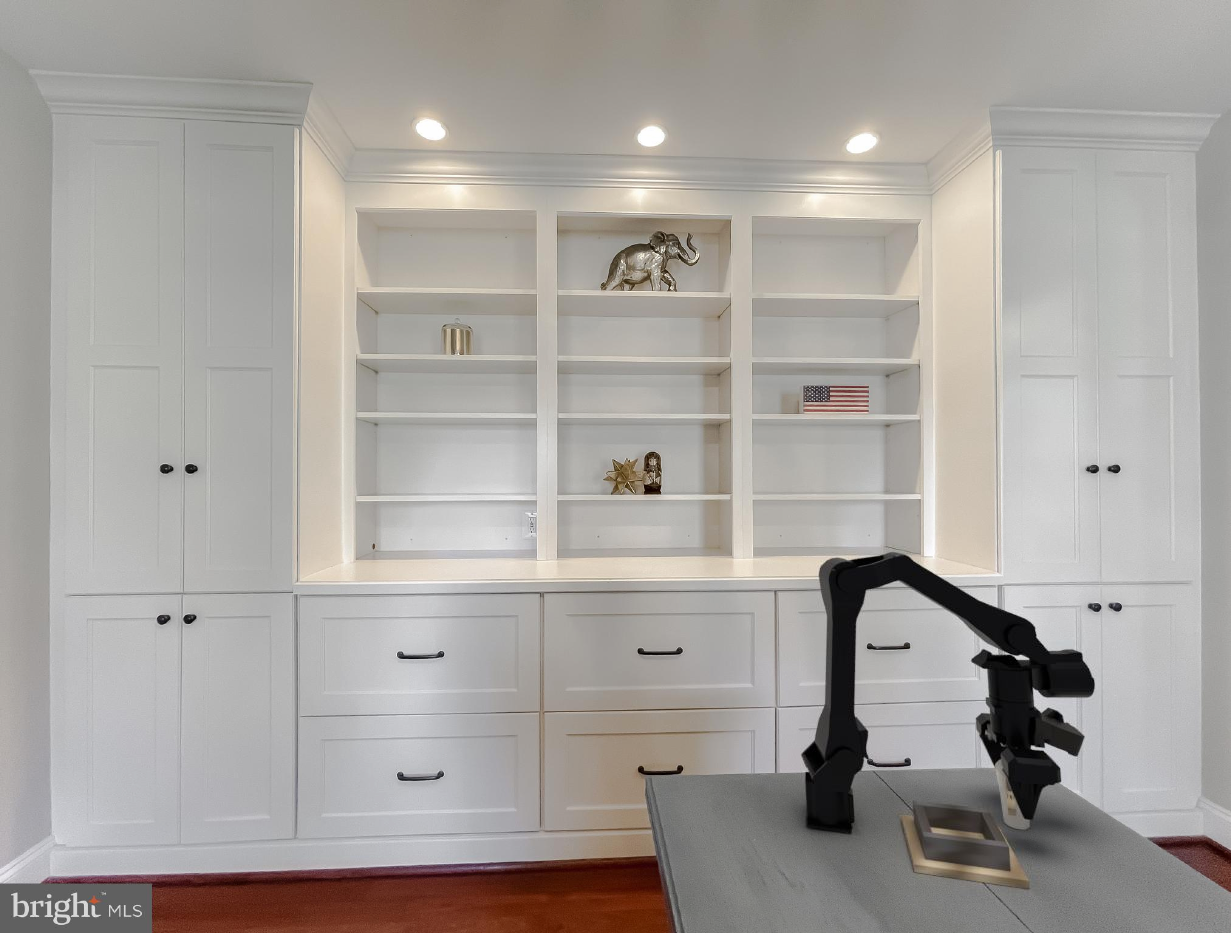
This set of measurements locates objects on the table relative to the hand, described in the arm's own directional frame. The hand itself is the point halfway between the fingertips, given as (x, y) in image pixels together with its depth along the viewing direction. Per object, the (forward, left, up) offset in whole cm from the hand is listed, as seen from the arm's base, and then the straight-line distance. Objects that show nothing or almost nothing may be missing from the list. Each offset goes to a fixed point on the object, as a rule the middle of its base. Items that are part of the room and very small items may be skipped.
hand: (1017, 803), depth 90 cm
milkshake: (0, 0, -3) cm, 3 cm away
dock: (-10, -10, -3) cm, 14 cm away
